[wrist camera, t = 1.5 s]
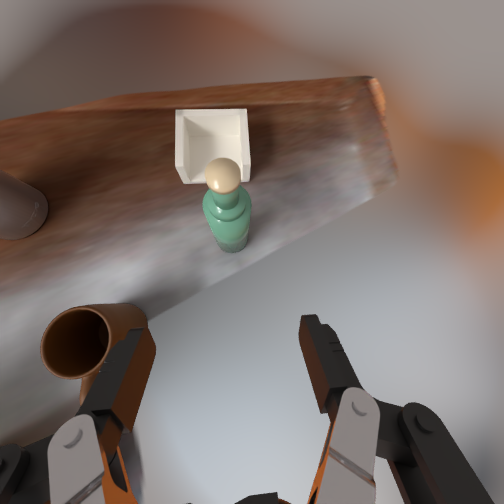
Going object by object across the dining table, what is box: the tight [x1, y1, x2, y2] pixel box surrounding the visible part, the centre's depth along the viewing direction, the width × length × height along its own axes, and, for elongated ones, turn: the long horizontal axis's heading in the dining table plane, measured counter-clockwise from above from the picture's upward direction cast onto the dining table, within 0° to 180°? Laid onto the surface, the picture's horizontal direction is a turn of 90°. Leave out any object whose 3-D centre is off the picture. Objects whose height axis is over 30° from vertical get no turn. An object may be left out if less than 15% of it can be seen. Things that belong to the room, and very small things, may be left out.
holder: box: [175, 109, 251, 184], centre depth 36 cm, size 10×11×5 cm
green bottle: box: [203, 158, 251, 253], centre depth 26 cm, size 5×5×19 cm
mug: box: [40, 303, 148, 405], centre depth 27 cm, size 12×8×9 cm, turn 15°
